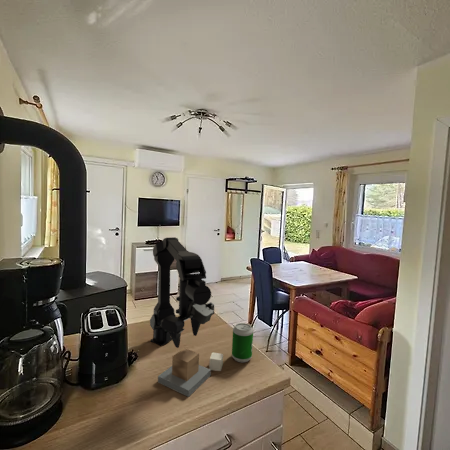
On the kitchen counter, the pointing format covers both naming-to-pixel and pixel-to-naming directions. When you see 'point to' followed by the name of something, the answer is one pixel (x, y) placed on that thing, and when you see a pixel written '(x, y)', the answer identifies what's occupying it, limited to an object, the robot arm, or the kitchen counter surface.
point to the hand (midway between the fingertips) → (186, 341)
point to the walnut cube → (185, 364)
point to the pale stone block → (216, 361)
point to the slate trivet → (182, 385)
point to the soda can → (242, 342)
